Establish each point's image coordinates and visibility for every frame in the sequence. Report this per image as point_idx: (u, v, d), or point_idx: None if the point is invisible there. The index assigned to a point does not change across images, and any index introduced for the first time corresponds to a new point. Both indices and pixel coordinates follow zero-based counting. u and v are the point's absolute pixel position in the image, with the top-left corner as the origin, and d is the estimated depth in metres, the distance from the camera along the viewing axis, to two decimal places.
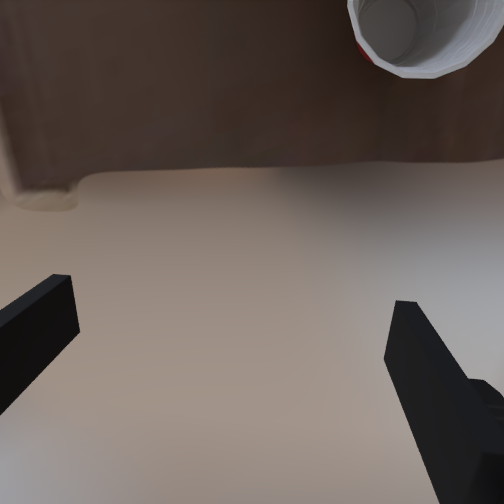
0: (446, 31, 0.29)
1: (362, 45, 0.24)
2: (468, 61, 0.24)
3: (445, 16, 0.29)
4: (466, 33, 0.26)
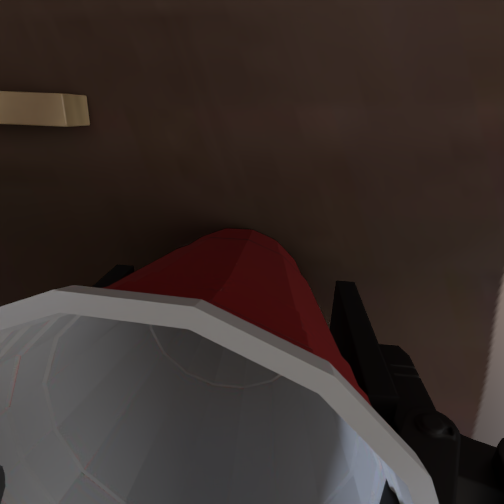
0: None
1: None
2: (411, 468, 0.05)
3: None
4: None
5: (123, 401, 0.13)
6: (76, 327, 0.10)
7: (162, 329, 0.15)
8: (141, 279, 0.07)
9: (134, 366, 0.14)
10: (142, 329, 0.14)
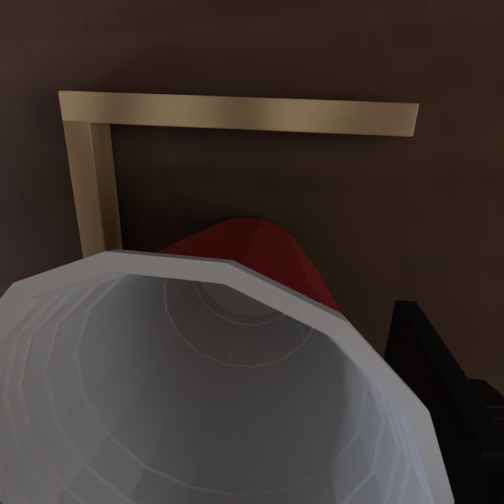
0: None
1: None
2: (411, 403, 0.06)
3: None
4: None
5: (143, 376, 0.14)
6: (105, 301, 0.11)
7: (176, 312, 0.16)
8: (170, 252, 0.08)
9: (152, 344, 0.14)
10: (158, 311, 0.15)
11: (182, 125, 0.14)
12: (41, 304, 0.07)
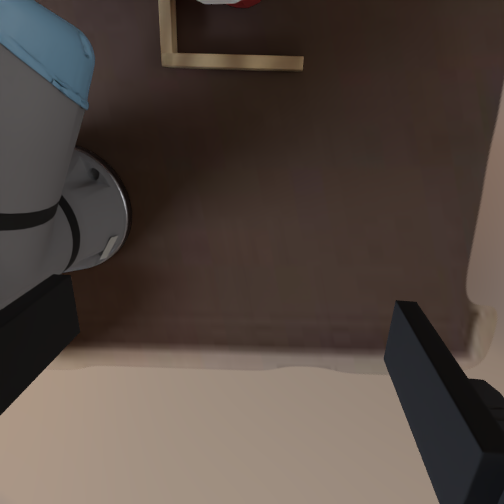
0: None
1: None
2: None
3: None
4: None
5: None
6: None
7: None
8: None
9: None
10: None
11: None
12: None
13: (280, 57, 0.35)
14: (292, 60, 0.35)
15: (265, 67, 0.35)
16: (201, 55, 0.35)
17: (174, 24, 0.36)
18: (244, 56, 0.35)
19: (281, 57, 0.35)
